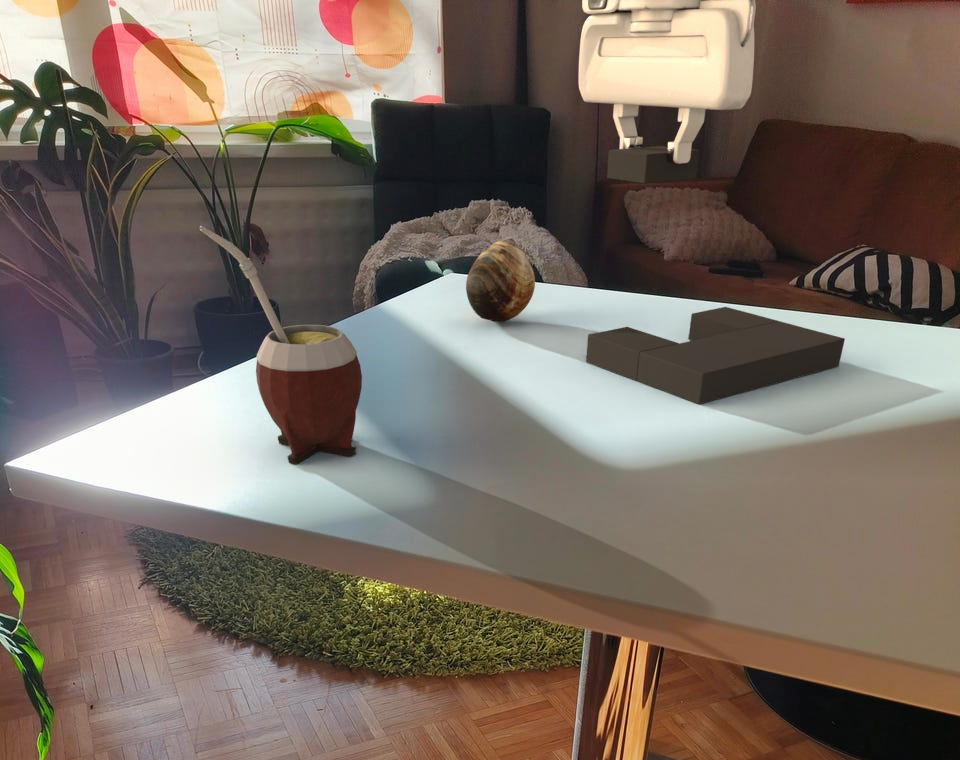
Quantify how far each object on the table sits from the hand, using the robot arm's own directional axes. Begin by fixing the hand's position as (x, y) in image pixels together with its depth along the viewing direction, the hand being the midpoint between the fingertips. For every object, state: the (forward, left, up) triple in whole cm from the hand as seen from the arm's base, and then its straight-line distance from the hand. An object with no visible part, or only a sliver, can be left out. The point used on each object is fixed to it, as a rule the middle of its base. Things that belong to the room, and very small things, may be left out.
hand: (653, 159), depth 88 cm
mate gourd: (+47, +16, -15) cm, 51 cm away
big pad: (+8, +18, -15) cm, 24 cm away
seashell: (+15, -5, -15) cm, 21 cm away
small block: (0, 0, -2) cm, 2 cm away
